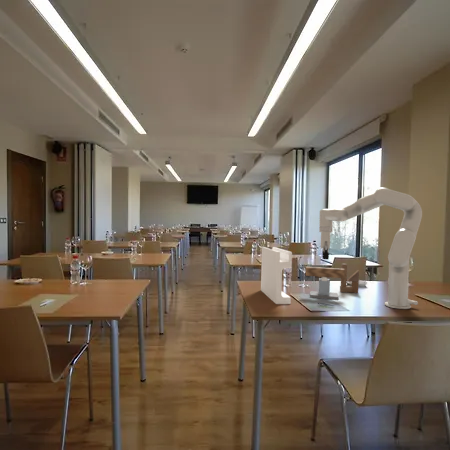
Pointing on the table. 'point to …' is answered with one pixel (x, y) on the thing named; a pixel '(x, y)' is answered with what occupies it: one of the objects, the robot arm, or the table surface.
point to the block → (274, 273)
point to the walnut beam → (325, 272)
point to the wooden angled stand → (352, 278)
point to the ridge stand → (324, 290)
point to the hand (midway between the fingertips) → (325, 258)
